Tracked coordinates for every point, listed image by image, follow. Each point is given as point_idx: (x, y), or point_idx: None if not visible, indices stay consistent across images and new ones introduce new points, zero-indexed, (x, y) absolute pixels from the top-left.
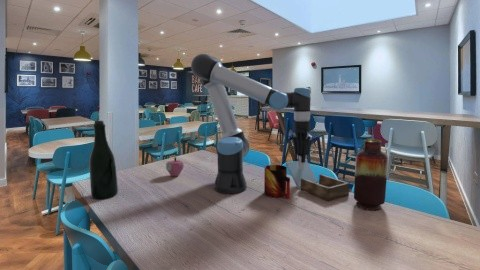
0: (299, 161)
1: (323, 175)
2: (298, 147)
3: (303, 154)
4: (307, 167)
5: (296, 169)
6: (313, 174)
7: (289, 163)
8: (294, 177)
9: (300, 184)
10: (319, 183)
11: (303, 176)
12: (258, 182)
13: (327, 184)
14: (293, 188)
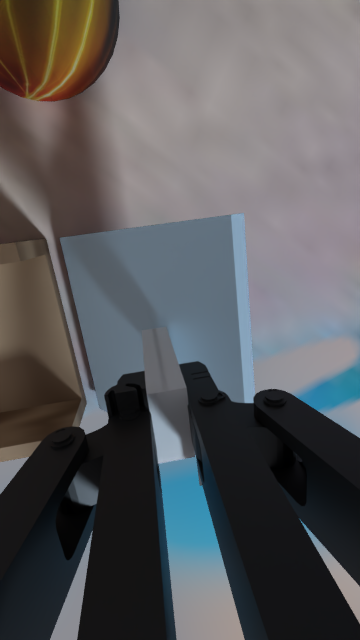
0: (160, 357)
1: (33, 446)
2: (233, 489)
3: (80, 431)
4: None
5: (163, 302)
6: None
7: (221, 255)
8: (105, 236)
9: (73, 262)
10: (77, 399)
11: (118, 328)
12: (312, 36)
13: (8, 417)
14: (91, 213)
